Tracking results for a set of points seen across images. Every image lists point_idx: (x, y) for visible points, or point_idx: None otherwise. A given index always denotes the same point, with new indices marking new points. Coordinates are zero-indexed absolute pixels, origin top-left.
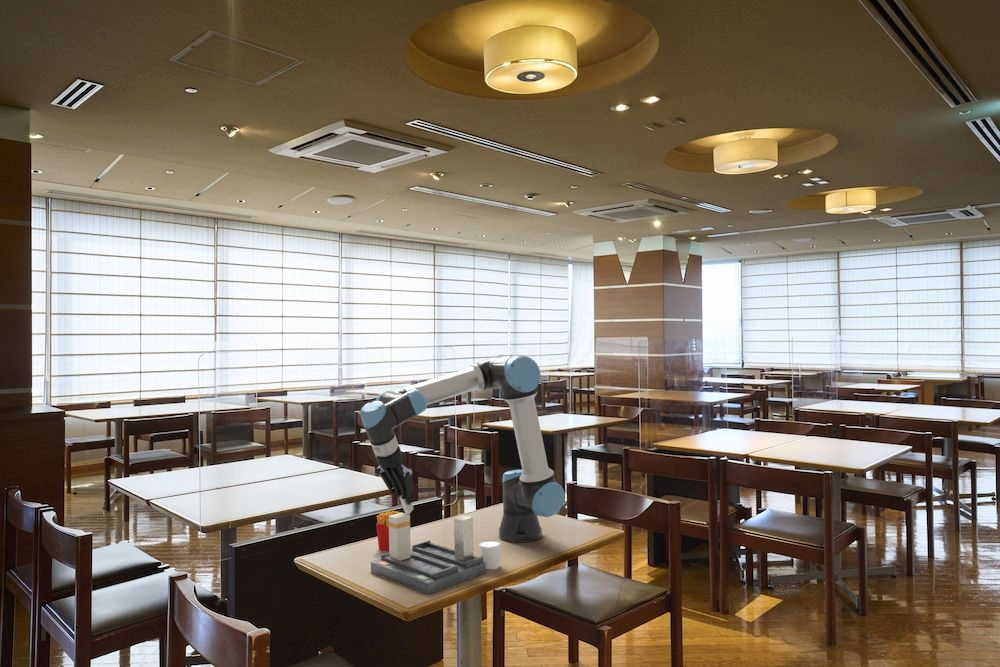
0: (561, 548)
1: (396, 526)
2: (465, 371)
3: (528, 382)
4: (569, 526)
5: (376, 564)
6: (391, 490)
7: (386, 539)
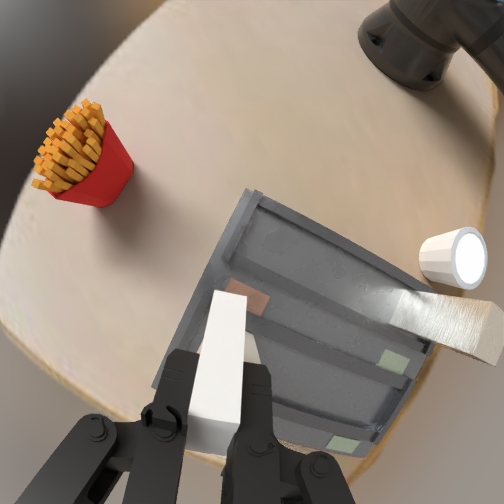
0: (485, 127)
1: None
2: None
3: None
4: None
5: None
6: (106, 483)
7: (100, 194)
